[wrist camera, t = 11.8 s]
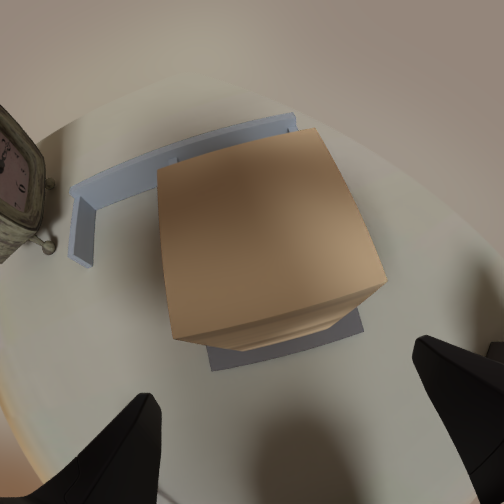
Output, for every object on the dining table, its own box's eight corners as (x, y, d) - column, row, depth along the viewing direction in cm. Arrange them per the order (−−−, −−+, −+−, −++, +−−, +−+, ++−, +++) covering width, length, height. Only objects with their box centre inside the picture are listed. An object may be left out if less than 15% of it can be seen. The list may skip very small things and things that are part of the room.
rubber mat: (362, 332, 18) (364, 331, 17) (213, 371, 18) (211, 371, 18) (329, 233, 21) (330, 231, 20) (194, 269, 21) (192, 267, 21)
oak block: (327, 328, 18) (388, 280, 7) (243, 351, 18) (173, 339, 7) (303, 251, 20) (314, 127, 9) (225, 272, 20) (156, 169, 9)
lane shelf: (320, 202, 22) (325, 172, 18) (86, 268, 23) (60, 252, 19) (293, 142, 25) (293, 112, 21) (91, 206, 26) (70, 187, 22)
